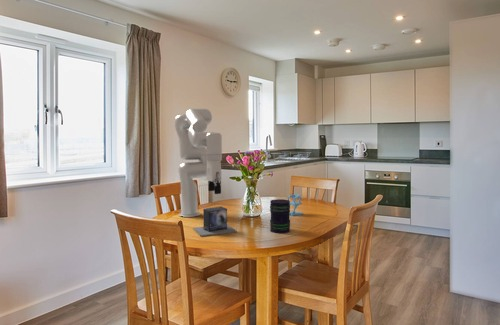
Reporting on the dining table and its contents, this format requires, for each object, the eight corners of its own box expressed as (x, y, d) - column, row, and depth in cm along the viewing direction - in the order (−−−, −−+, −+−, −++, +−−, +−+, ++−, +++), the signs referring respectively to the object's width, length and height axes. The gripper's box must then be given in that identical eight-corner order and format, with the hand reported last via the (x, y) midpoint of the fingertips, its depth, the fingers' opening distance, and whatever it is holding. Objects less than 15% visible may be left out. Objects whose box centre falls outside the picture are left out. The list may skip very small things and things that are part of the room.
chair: (284, 214, 215) (284, 194, 215) (293, 212, 221) (293, 193, 220) (294, 216, 210) (294, 196, 209) (303, 214, 215) (303, 194, 214)
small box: (209, 232, 175) (208, 210, 174) (202, 229, 180) (202, 208, 179) (227, 228, 181) (227, 208, 180) (221, 226, 186) (221, 206, 185)
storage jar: (272, 234, 173) (272, 203, 172) (267, 229, 183) (267, 199, 182) (292, 232, 175) (292, 202, 174) (286, 227, 185) (286, 198, 184)
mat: (193, 229, 183) (193, 227, 183) (226, 225, 190) (226, 224, 190) (201, 236, 170) (201, 235, 170) (236, 232, 177) (236, 230, 177)
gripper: (201, 157, 184) (202, 190, 185) (212, 159, 168) (212, 195, 170) (215, 156, 187) (216, 189, 188) (227, 158, 171) (227, 194, 173)
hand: (214, 192), depth 179 cm, fingers open, 9 cm apart
